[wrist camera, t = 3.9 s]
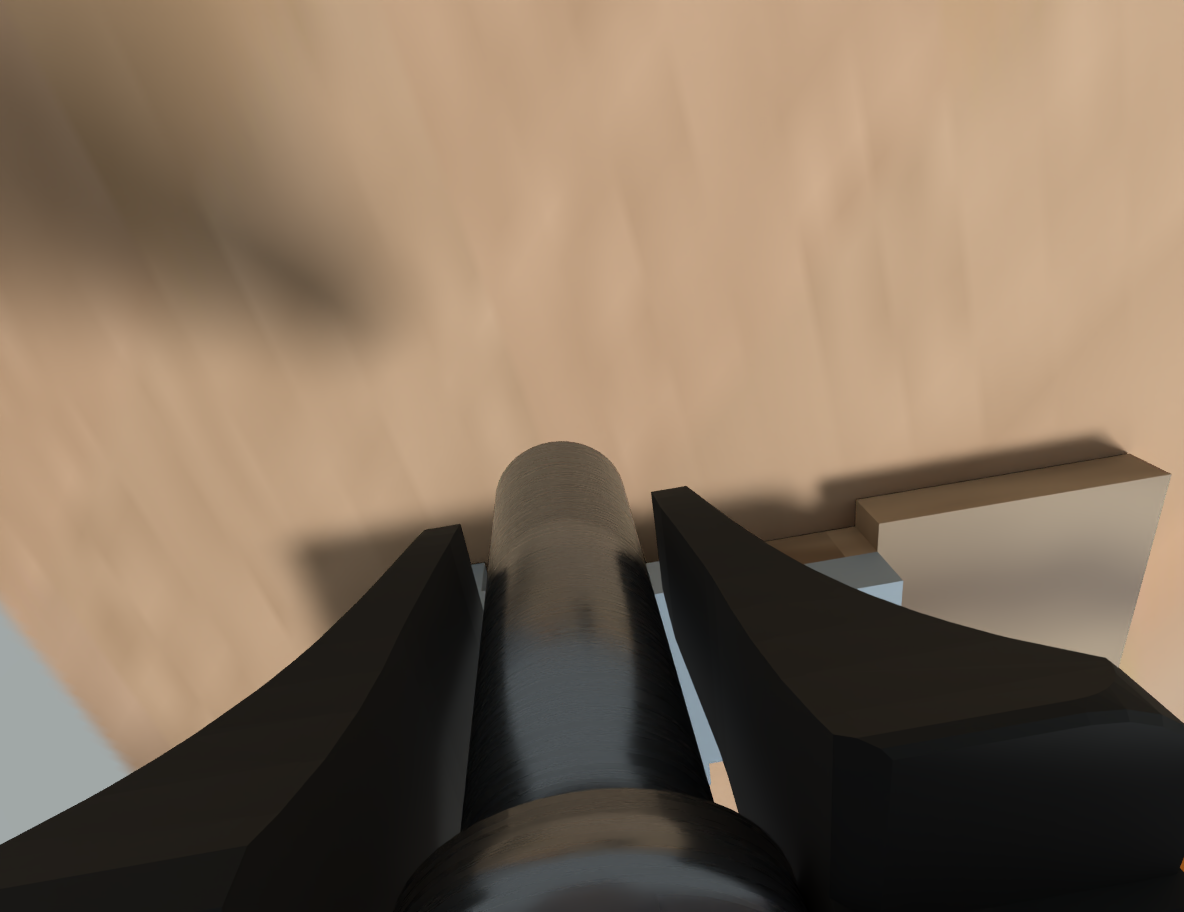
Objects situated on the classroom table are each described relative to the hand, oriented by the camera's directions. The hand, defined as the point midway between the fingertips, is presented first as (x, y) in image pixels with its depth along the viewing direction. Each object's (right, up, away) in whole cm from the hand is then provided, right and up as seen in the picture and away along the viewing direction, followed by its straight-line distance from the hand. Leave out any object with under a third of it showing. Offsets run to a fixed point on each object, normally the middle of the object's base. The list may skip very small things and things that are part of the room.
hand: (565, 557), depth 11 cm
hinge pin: (0, +1, +2) cm, 2 cm away
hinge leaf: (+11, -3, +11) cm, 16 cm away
